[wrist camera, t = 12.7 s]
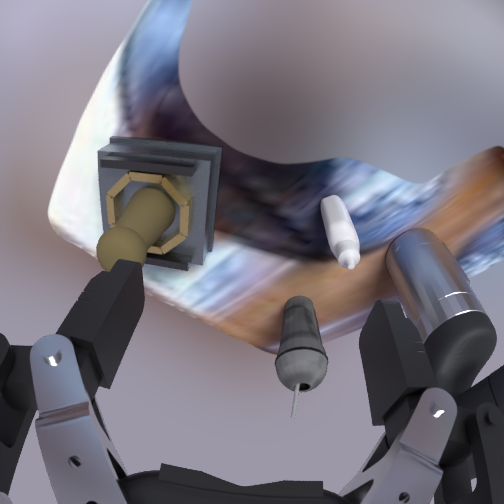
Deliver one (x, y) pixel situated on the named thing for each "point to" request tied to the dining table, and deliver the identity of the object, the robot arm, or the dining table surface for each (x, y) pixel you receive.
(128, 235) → the cork
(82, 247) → the dining table surface
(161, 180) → the grey peg socket base
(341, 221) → the eye dropper bottle
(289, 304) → the beverage cup
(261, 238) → the dining table surface
